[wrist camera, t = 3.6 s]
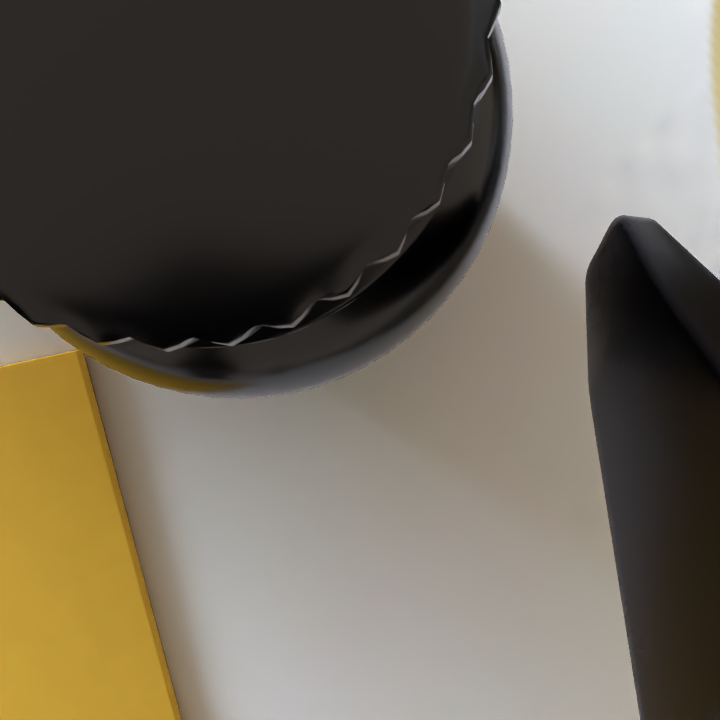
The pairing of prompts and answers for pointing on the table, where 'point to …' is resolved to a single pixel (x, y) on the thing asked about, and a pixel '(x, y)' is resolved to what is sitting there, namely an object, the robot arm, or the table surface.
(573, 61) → the table surface
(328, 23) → the supplement bottle
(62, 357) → the cloth
